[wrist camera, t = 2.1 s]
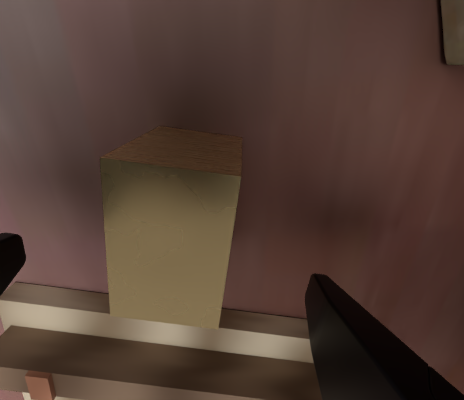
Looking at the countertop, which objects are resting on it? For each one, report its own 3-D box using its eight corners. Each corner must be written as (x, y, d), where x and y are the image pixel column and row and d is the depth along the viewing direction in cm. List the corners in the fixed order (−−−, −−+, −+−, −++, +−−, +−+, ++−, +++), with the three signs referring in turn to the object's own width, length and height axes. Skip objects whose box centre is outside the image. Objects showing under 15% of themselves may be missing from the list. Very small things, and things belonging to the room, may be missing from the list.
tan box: (242, 137, 13) (241, 176, 8) (219, 296, 17) (208, 396, 12) (160, 125, 13) (99, 157, 8) (156, 287, 17) (115, 385, 12)
